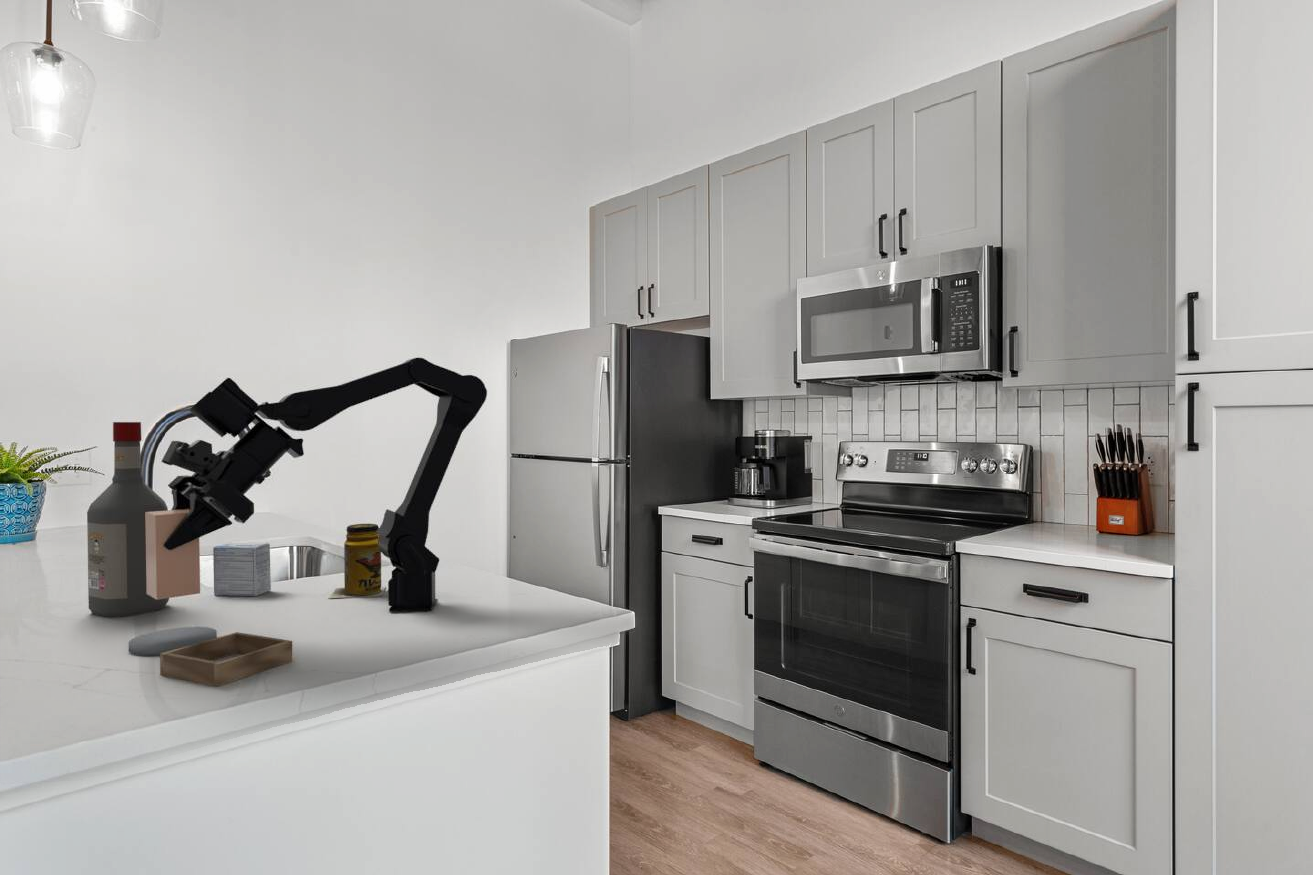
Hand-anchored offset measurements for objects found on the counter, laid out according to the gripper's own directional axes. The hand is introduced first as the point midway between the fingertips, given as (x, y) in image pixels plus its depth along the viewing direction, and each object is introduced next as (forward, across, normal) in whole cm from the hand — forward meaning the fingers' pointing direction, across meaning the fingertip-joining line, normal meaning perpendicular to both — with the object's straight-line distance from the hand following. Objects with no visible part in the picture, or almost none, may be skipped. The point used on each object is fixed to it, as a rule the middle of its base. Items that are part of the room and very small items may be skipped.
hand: (160, 545), depth 100 cm
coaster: (+9, 0, +10) cm, 14 cm away
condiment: (-13, -12, +33) cm, 37 cm away
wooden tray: (+7, +16, +12) cm, 21 cm away
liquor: (+8, -27, +11) cm, 30 cm away
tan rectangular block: (+4, 0, +6) cm, 7 cm away
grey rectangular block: (-3, -26, +23) cm, 35 cm away
